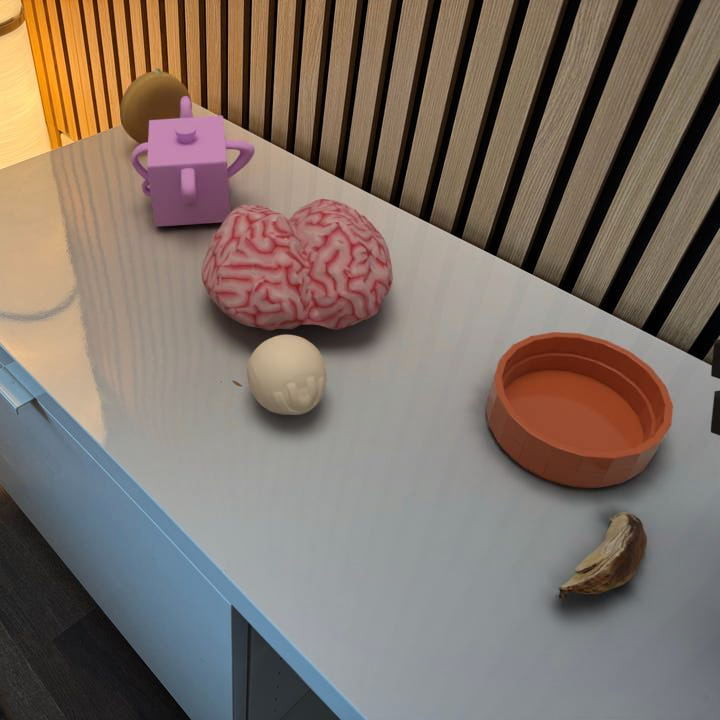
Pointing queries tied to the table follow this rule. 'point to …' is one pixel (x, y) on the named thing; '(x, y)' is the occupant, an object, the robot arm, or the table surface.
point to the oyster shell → (610, 558)
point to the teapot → (189, 168)
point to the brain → (298, 267)
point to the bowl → (578, 409)
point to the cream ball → (287, 375)
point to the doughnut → (150, 102)
